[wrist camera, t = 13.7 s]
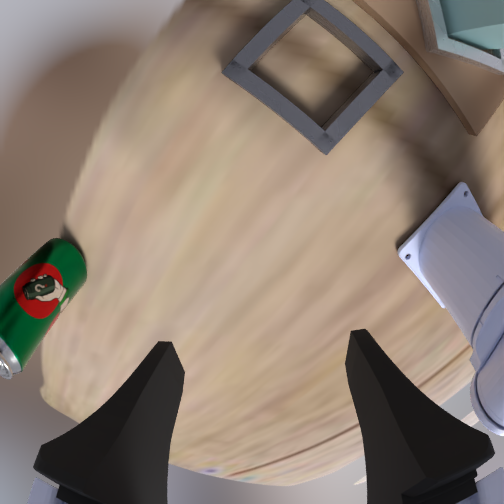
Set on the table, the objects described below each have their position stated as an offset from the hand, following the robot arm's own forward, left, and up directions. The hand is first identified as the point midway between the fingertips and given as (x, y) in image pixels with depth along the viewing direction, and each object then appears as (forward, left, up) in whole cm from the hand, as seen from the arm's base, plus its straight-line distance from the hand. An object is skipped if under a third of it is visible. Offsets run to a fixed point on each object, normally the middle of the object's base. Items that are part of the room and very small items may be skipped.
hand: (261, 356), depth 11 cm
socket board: (+1, -23, -10) cm, 25 cm away
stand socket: (+5, -11, -10) cm, 16 cm away
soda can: (+12, +12, -10) cm, 20 cm away
